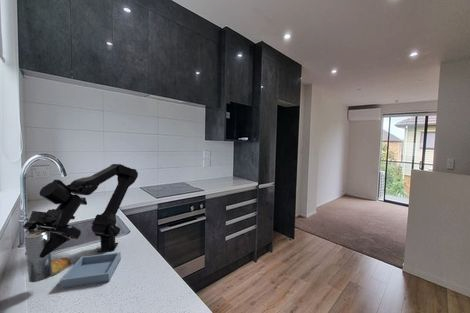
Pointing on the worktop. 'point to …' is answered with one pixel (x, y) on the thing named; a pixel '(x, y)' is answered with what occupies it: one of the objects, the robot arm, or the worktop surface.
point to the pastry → (59, 265)
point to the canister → (37, 256)
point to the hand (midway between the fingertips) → (33, 256)
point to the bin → (91, 270)
